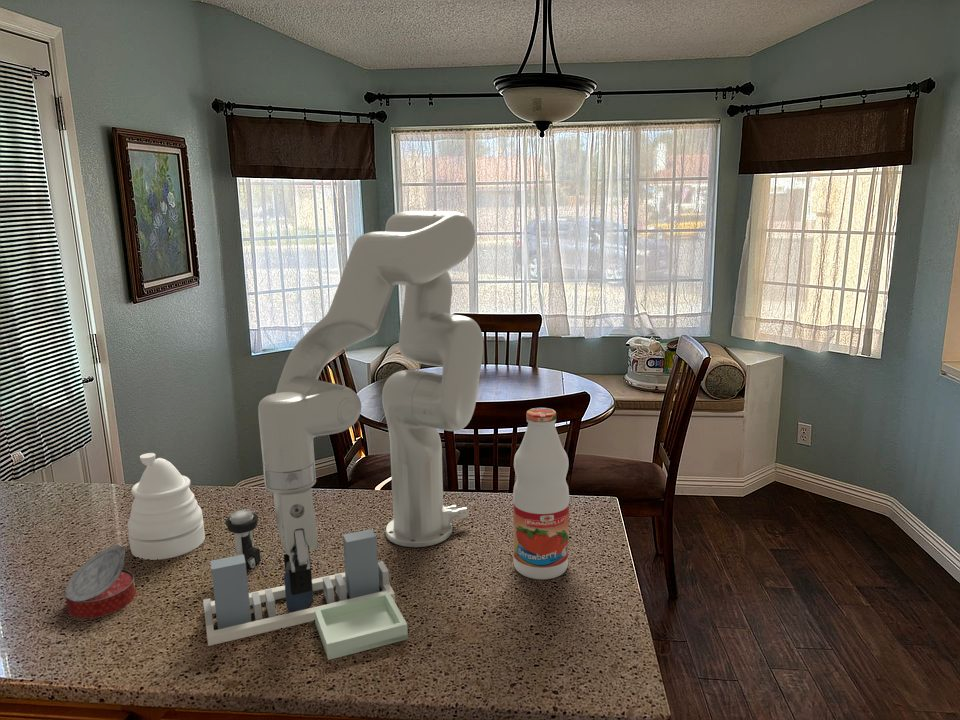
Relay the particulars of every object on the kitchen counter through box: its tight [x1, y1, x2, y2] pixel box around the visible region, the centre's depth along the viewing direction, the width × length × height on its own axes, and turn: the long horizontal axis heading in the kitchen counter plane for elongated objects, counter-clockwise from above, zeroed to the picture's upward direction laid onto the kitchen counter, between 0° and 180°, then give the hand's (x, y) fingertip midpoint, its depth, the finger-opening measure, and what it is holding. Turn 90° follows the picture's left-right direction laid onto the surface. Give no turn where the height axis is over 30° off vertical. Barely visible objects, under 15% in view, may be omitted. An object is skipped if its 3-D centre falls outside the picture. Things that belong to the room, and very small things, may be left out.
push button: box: [225, 508, 261, 571], centre depth 125 cm, size 7×5×10 cm
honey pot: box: [127, 452, 206, 561], centre depth 133 cm, size 13×13×18 cm
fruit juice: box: [512, 407, 570, 580], centre depth 122 cm, size 9×9×28 cm
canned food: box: [64, 544, 137, 619], centre depth 116 cm, size 11×10×10 cm
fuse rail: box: [202, 528, 396, 647], centre depth 113 cm, size 28×10×10 cm, turn 113°
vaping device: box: [283, 546, 314, 613], centre depth 113 cm, size 3×5×12 cm, turn 161°
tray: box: [314, 591, 409, 661], centre depth 107 cm, size 12×10×2 cm
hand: (298, 582), depth 113 cm, fingers closed on vaping device, 4 cm apart
